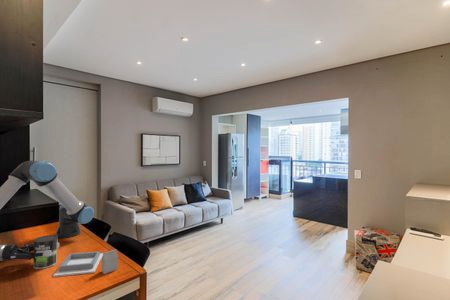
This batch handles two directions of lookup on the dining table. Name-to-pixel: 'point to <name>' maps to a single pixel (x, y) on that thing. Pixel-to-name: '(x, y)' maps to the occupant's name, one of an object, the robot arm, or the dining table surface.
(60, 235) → the robot arm
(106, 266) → the white printed box
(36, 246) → the coffee can
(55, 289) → the dining table surface
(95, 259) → the caddy
